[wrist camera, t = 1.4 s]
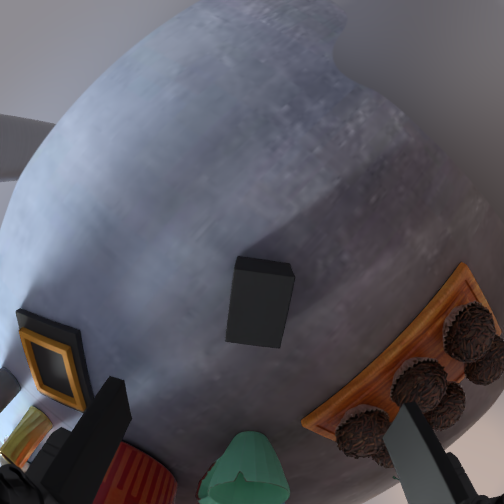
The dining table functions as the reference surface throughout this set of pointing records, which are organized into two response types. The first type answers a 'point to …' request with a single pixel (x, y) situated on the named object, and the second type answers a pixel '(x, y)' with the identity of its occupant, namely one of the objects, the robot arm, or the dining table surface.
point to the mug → (245, 474)
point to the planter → (136, 479)
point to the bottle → (7, 388)
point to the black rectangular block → (259, 302)
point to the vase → (26, 437)
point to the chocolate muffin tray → (418, 372)
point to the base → (56, 360)
